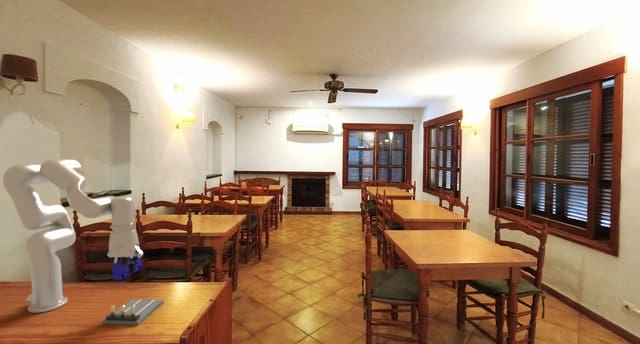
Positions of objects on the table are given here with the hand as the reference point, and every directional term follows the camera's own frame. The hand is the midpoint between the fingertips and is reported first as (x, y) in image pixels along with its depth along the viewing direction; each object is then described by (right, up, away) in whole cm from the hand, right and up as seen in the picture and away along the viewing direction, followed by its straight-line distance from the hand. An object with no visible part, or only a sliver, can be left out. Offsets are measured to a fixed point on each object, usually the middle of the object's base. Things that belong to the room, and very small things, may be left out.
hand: (126, 271), depth 129 cm
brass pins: (+4, -15, -8) cm, 18 cm away
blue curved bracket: (0, -1, 0) cm, 1 cm away
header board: (+4, -16, -1) cm, 17 cm away
